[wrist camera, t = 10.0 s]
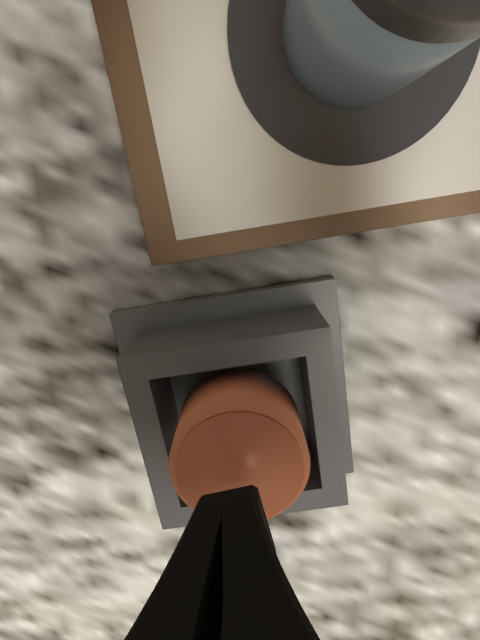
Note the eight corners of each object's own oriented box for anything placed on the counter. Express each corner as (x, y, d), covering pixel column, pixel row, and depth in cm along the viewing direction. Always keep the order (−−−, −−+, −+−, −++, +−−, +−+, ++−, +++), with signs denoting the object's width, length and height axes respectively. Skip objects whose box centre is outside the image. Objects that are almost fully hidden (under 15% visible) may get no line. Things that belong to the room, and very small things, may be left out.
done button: (290, 360, 13) (303, 397, 10) (305, 464, 14) (318, 519, 12) (168, 378, 13) (152, 419, 11) (192, 480, 14) (183, 538, 12)
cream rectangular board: (600, -253, 10) (649, -315, 9) (566, 194, 13) (599, 194, 12) (68, -140, 11) (45, -183, 10) (157, 261, 14) (149, 267, 13)
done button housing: (332, 275, 14) (355, 296, 11) (350, 464, 17) (373, 520, 14) (113, 310, 15) (82, 339, 12) (161, 490, 17) (145, 550, 14)
